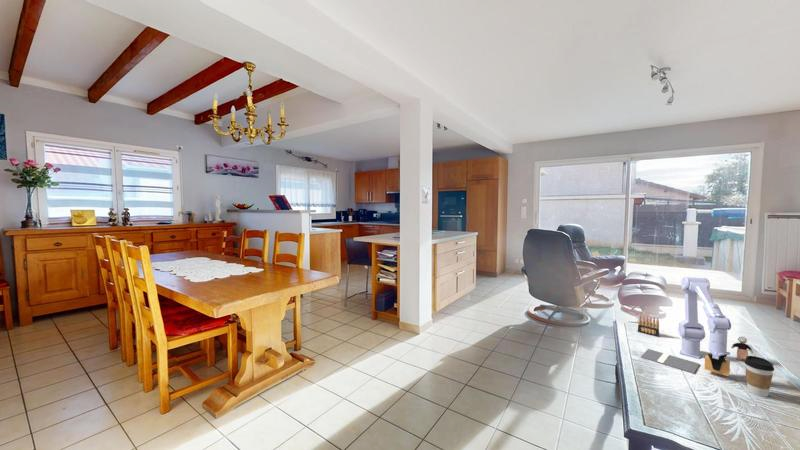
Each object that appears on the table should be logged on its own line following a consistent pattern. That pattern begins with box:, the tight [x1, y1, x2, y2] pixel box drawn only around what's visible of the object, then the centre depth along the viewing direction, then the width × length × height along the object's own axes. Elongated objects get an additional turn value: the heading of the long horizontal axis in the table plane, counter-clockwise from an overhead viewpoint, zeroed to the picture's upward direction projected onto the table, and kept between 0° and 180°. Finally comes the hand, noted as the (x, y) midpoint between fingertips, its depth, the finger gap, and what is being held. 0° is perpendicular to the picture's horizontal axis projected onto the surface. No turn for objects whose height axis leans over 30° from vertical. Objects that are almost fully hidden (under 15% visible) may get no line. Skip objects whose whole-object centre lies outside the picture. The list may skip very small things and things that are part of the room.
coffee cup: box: [743, 355, 775, 398], centre depth 130 cm, size 8×8×15 cm
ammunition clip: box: [637, 314, 660, 338], centre depth 192 cm, size 11×2×12 cm, turn 38°
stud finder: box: [704, 354, 731, 377], centre depth 144 cm, size 4×8×6 cm, turn 37°
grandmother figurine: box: [730, 336, 754, 362], centre depth 158 cm, size 8×4×13 cm, turn 54°
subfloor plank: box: [640, 348, 700, 375], centre depth 158 cm, size 14×21×1 cm, turn 37°
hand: (716, 368), depth 144 cm, fingers closed on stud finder, 4 cm apart
